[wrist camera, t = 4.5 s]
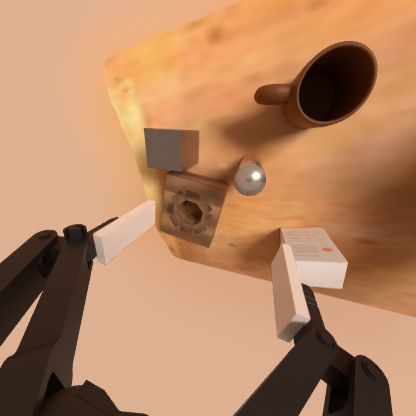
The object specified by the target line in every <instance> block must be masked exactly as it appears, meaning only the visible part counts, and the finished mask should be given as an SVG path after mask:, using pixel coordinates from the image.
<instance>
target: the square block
mask: <svg viewBox="0 0 416 416" xmlns="http://www.w3.org/2000/svg"><path fill="white" fill-rule="evenodd" d="M144 134H145V143H146V152H147V161H148V168H155V169H164V170H173V171H183V170H185V169H187V168H189V167H191V166H192V165H194V164H196V163H198V157H199V131H195V130H178V129H154V128H144Z"/></svg>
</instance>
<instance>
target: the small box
mask: <svg viewBox="0 0 416 416" xmlns="http://www.w3.org/2000/svg"><path fill="white" fill-rule="evenodd" d="M282 243H284V244H287V245H290V246H291V249H292V252H293V256H294V260H295V264H296V267H297V271H298V275H299V278H300V282H301V283H303V284H305V285H308V286H311V287H323V288H336V289H342V287H343V282H344V278H345V274H346V269H347V265H348V262H347V261H346V259H345V258H344V257H343V255H342V254H341V252H340V251H339V250H338V248H337V247H336V246H335V244H334V243H333V242H332V240H331V239H330V238H329V236H328V235H327V233H326V232H325V231H324V229H323V228H322V227H304V228H280V246H281V244H282Z"/></svg>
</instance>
